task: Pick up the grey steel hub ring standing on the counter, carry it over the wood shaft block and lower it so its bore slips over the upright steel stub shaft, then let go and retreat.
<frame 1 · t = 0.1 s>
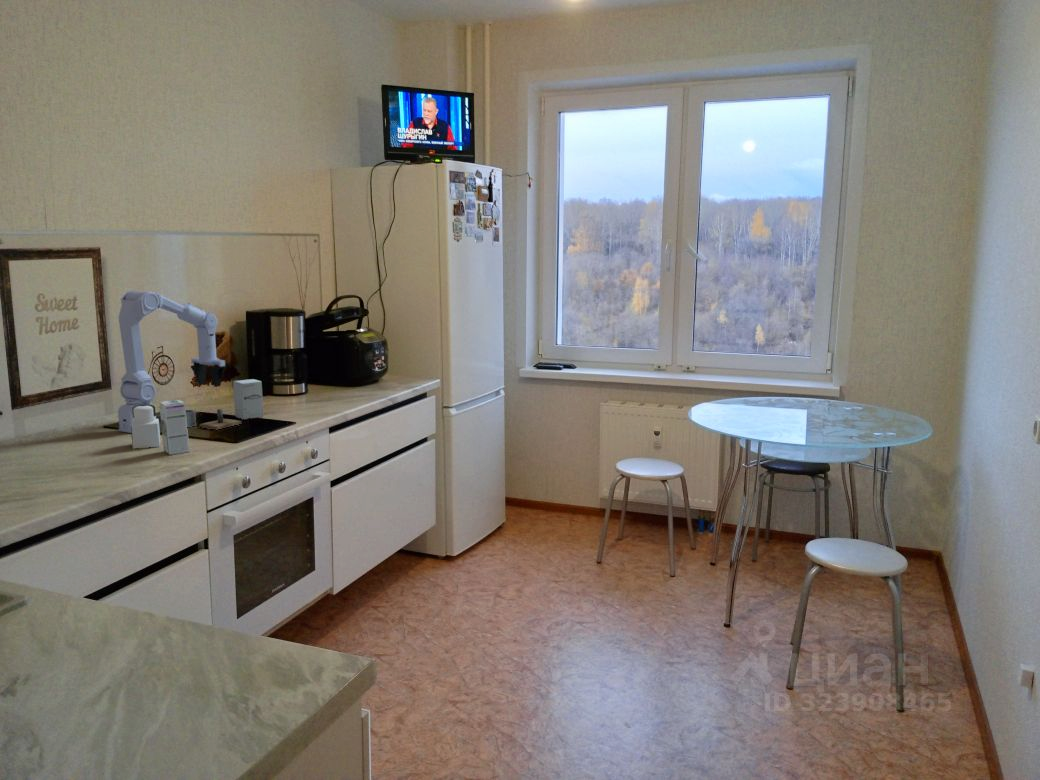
hand: (209, 385, 271), 10 cm above the worktop, tool pointing down, fingers open, 7 cm apart
supplement box: (249, 417, 268), on the worktop
shaft block: (220, 426, 253), on the worktop
hub: (188, 426, 253), on the worktop
medicine bottle: (146, 446, 228), on the worktop
syrup box: (176, 452, 221), on the worktop
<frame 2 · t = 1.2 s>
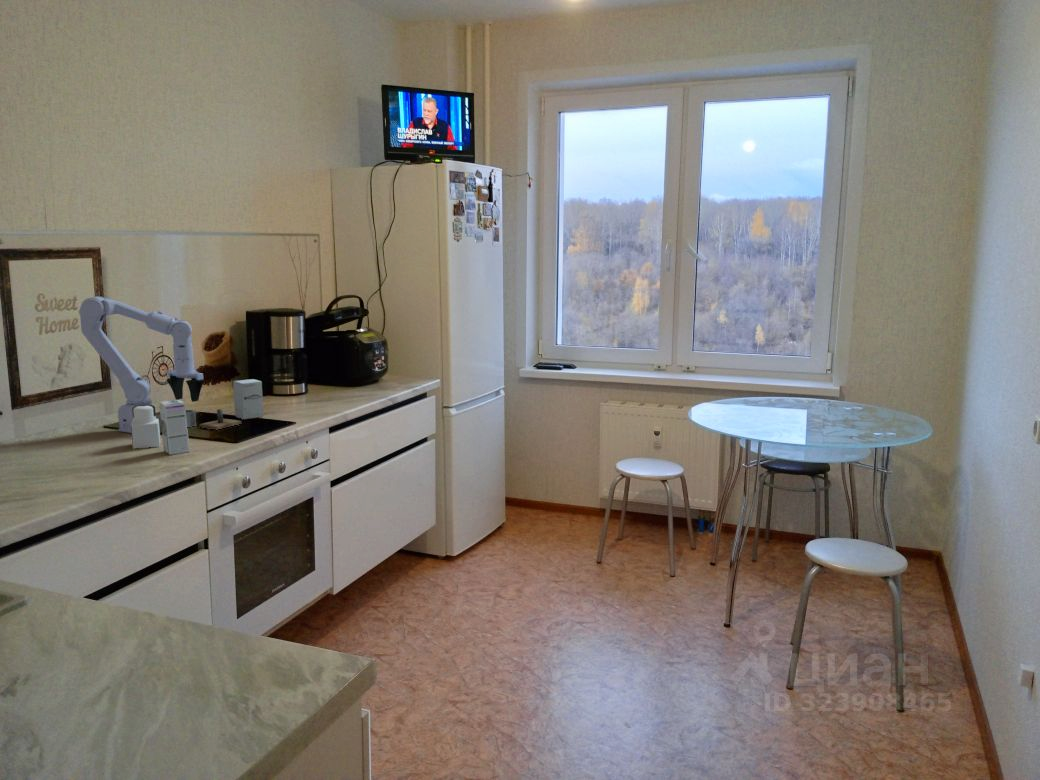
hand: (187, 400, 251), 9 cm above the worktop, tool pointing down, fingers open, 7 cm apart
nothing on the worktop moved.
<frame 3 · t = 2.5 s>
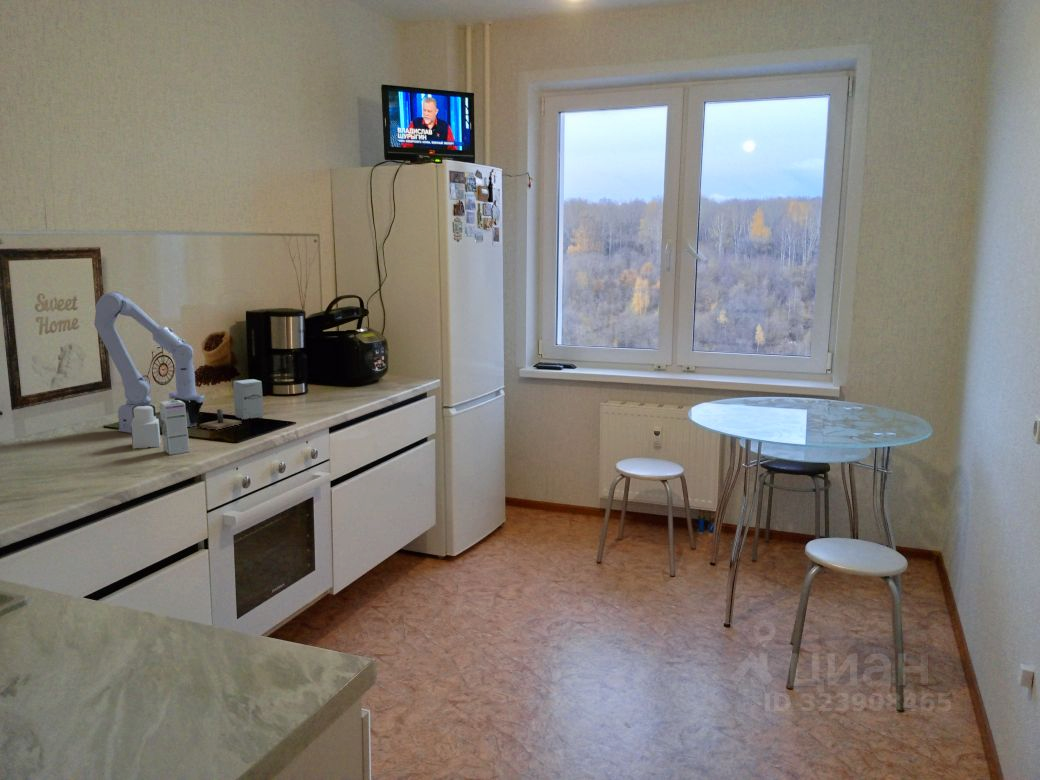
hand: (188, 422, 253), 1 cm above the worktop, tool pointing down, fingers closed on hub, 4 cm apart
hub: (188, 426, 253), on the worktop, touching gripper
everything else where it was.
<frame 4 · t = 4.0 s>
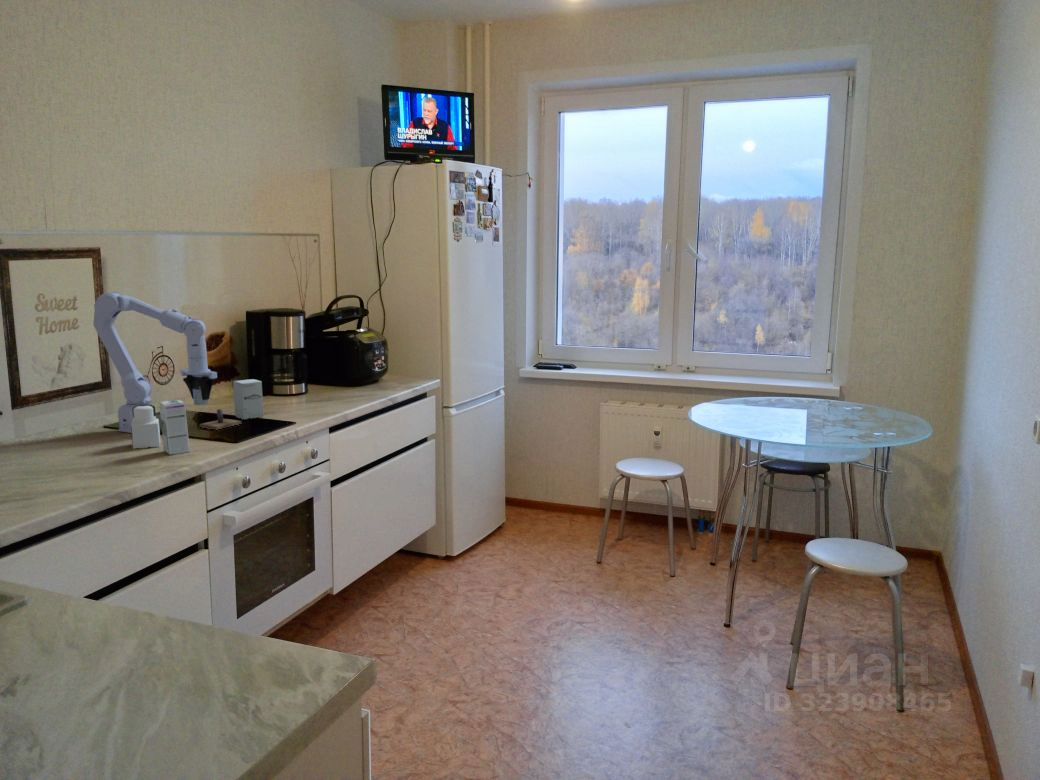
hand: (200, 399, 251), 9 cm above the worktop, tool pointing down, fingers closed on hub, 4 cm apart
hub: (201, 403, 252), point 7 cm above the worktop, touching gripper
everything else where it was.
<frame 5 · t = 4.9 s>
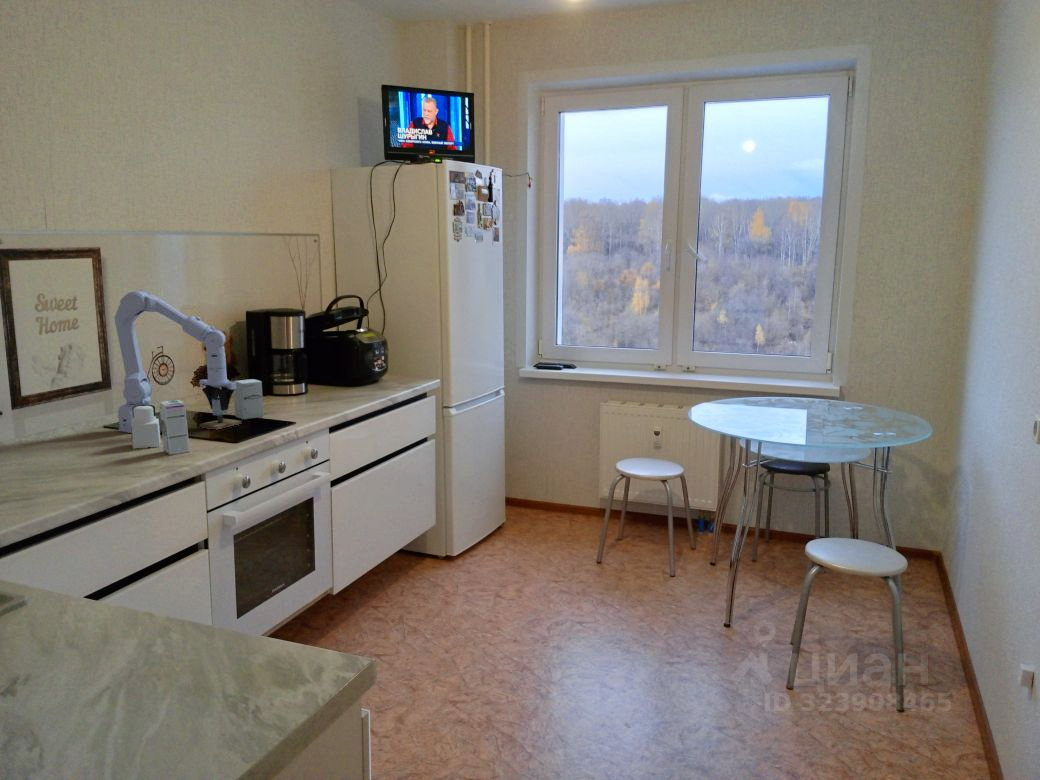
hand: (219, 409, 252), 6 cm above the worktop, tool pointing down, fingers closed on hub, 4 cm apart
hub: (220, 413, 252), point 4 cm above the worktop, touching gripper
everything else where it was.
when the fingers open (3 cm above the worktop, at t = 5.7 s): hub stays where it is, resting on shaft block.
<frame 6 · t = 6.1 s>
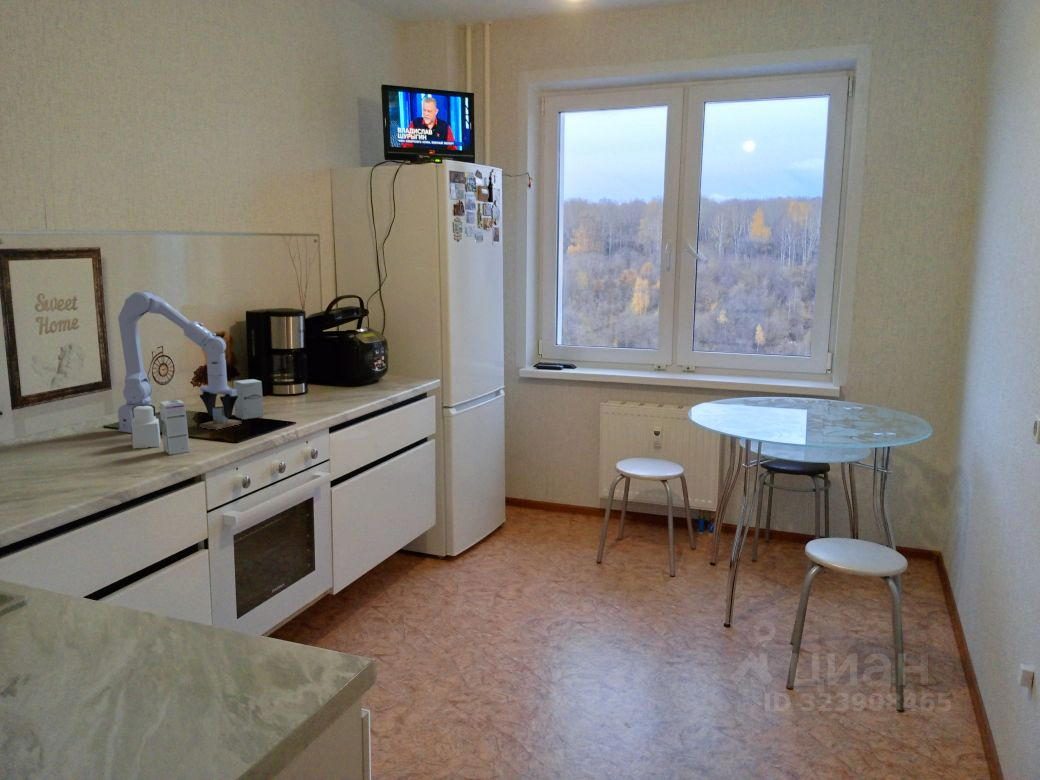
hand: (220, 416, 252), 3 cm above the worktop, tool pointing down, fingers open, 7 cm apart
hub: (220, 422, 253), point 1 cm above the worktop, touching shaft block
everything else where it was.
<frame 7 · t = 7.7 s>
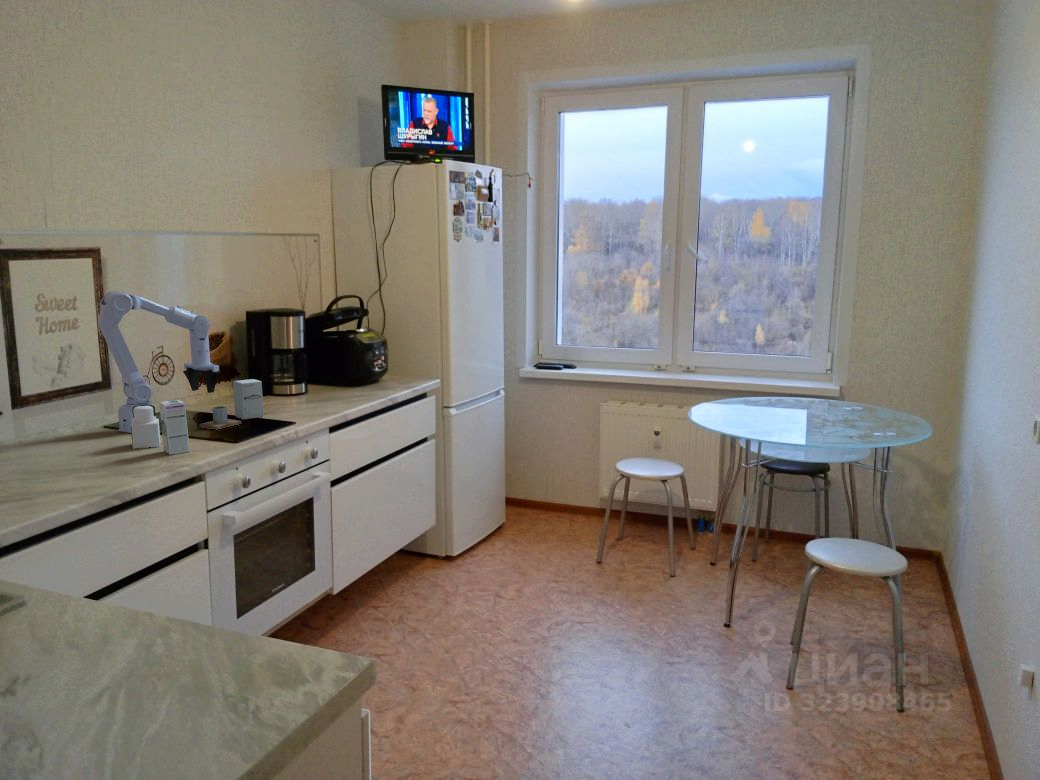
hand: (203, 391, 260), 10 cm above the worktop, tool pointing down, fingers open, 7 cm apart
nothing on the worktop moved.
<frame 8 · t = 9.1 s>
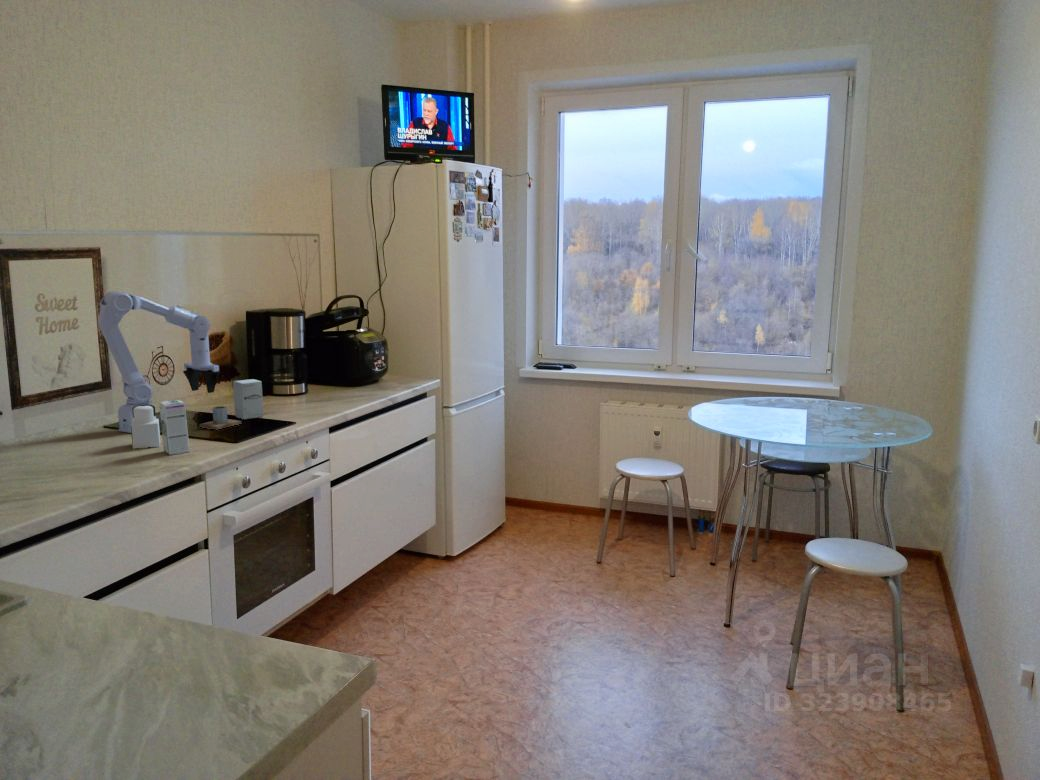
hand: (203, 391, 260), 10 cm above the worktop, tool pointing down, fingers open, 7 cm apart
nothing on the worktop moved.
at the end: hub 0.0 cm off-centre on the shaft block, point 1.2 cm above the shaft block's base; hub tilted 0°; the gripper is holding nothing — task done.
